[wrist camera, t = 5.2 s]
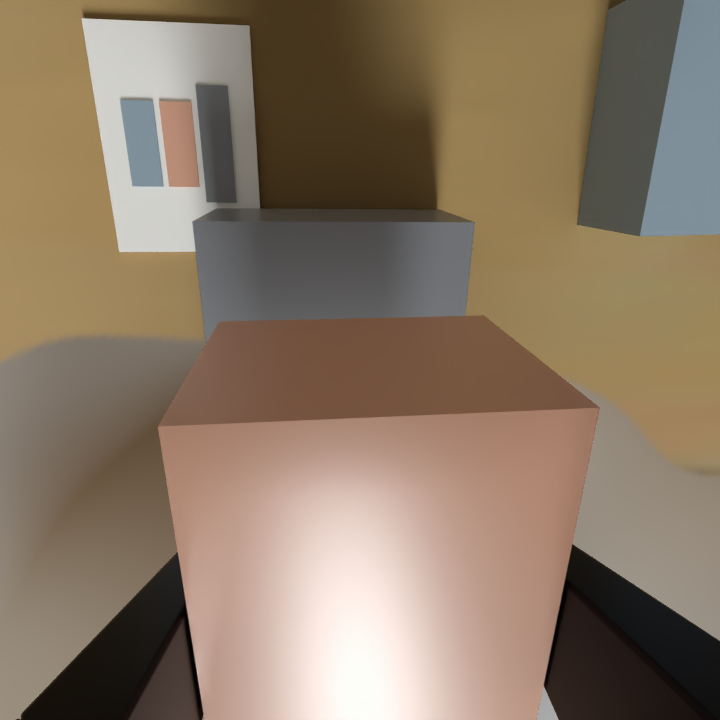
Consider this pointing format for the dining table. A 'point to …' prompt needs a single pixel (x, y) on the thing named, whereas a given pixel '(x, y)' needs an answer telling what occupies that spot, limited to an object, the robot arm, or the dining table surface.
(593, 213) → the slate brick
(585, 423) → the terracotta brick
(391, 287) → the charcoal base brick
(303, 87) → the dining table surface
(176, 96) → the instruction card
